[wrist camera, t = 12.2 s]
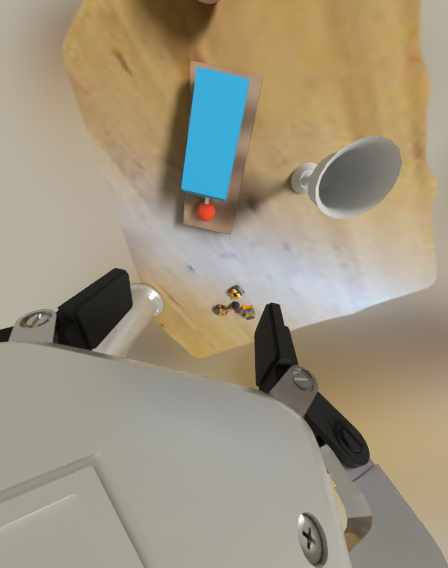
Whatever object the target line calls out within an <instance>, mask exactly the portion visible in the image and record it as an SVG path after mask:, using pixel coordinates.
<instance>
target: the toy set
mask: <svg viewBox="0 0 448 568" xmlns="http://www.w3.org/2000/svg"><path fill="white" fill-rule="evenodd" d="M229 291H230V292H227V293H228V294H229V295H230V296H231V298H232V299H236V298H238V297H241V296H242V294H243V293H244V291H243V290H241V289H240V288H239V286H237V285H236V286H235V287H234V288H233V289H231V290H229ZM233 294H234V295H233ZM217 307H218V308H216V309H215V314H217V315H218V316H225V315H228V312H229V311H230V310H231V308H229V309H227V307H226V306H223V305H222V307H225V308H221V305H220V304H218V306H217ZM239 307H240V305H239V303H238V302H236V301H235V302H233V303H232V308H233V309H234V311H235V313H236V314H238V315H242V314H243V312H244V316H245V318H246V320H249V319H253V318H255V317H254V315H255V313H254V311H253V310H254V309H253V308H252V305H251V306H247V305H243V306H242V307H243V311H242V309H240V308H239ZM249 308H250V309H249ZM246 309H248V310H246ZM226 312H227V314H226Z"/></svg>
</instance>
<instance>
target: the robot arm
mask: <svg viewBox="0 0 448 568" xmlns="http://www.w3.org/2000/svg"><path fill="white" fill-rule="evenodd" d="M163 307H164V302H163V299H162V297H161V295H160V294H159V293H158V292H157V291H156V290H155V289H154V288H152V287H150V286H148V285H146V284H142V283H134V284H130V281H129V275H128V273H126V271H125V270H122V269H118V268H114V269H113V270H111V271H110V272H108V273H107V274H106V275H104V276H103V277H101V278H100V279H98V280H97V281H95V282H94V283H92V284H91V285H90V286H88V287H87V288H85V289H84V290H82V291H81V292H80V293H78V294H76V295H75V296H74V297H72V298H71V299H69V300H68V301H66V302H65V303H63V304H62V305H61V306H59V307H58V309H59V310H58V311H57V312H55V311H53V310H50V309H42V310H36V311H33V312H30V313H28V314H25V315H24V316H22V317H21V318H19V319H18V320H17V321H16V323H15V325H14V326H13V327H9V328H5V329H1V330H0V568H448V565H447V563H446V560H445V558H444V556H443V554H442V552H441V550H440V548H439V547H438V545H437V544H436V542H435V540H434V539H433V537H432V536H431V535H430V533H429V532H428V531H427V529H426V528H425V527H424V525H423V524H422V523H421V521H420V520H419V519H418V517H417V516H416V515H415V513H414V512H413V510H412V509H411V508H410V507H409V505H408V504H407V502H406V501H405V500H404V498H403V497H402V496H401V494H400V493H399V492H398V490H397V489H396V487H395V486H394V485H393V484H392V482H391V481H390V479H389V478H388V477H387V475H386V474H385V473H384V471H383V470H382V469H381V467H380V466H379V465H378V464H376V465H375V464H374V463H373V461H372V460H371V458H370V454H369V449H368V446H367V444H366V442H365V440H364V438H363V437H362V435H361V434H360V433H359V431H358V430H357V429H356V428H355V427H354V426H353V425H352V424H351V423H350V422H349V421H348V420H347V419H346V418H345V417H344V416H342V415H341V413H340V412H339V411H337V410H336V409H335V408H334V407H333V406H332V405H331V404H330V403H329V402H328V401H327V400H326V399H325V398H324V397H323V396H322V395H321V394H320V393H319V392H318V383H317V380H316V378H315V377H314V376H313V374H312V373H311V372H310V371H309V370H307V369H306V368H304V367H301V366H299V365H298V362H297V358H296V354H295V350H294V346H293V342H292V338H291V334H290V330H289V328H288V327H287V326H284V321H283V317H282V313H281V308H280V305H279V304H275V303H270V304H267V305H266V307H265V309H264V311H263V314H262V316H261V319H260V321H259V323H258V326H257V328H256V331H255V335H254V339H255V371H256V386H259V390H256V389H253V388H249V387H246V386H242V385H238V384H234V383H230V382H226V381H222V380H218V379H214V378H209V377H205V376H201V375H197V374H192V373H188V372H184V371H179V370H175V369H171V368H166V367H162V366H157V365H153V364H149V363H144V362H140V361H135V360H131V359H127V358H124V356H125V355H126V353H127V352H128V350H129V349H130V347H131V346H132V345H133V343H134V342H135V340H136V339H137V337H138V336H139V334H140V333H141V332H142V330H143V329H144V327H145V326H147V325H148V321H149V320H150V318H151V317H153V316H157V315H158V314H160V313H161V311H162V310H163ZM328 474H330V476H331V478H332V479H333V481H334V483H335V485H336V487H335V489H336V491H337V493H338V495H339V496H340V498H341V500H342V503H343V505H344V507H345V510H346V515H347V528H346V530H345V532H344V533H343V529H342V525H341V521H340V518H339V513H338V510H337V506H336V502H335V498H334V494H333V490H332V487H331V483H330V480H329V477H328ZM301 514H302V515H301Z"/></svg>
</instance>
